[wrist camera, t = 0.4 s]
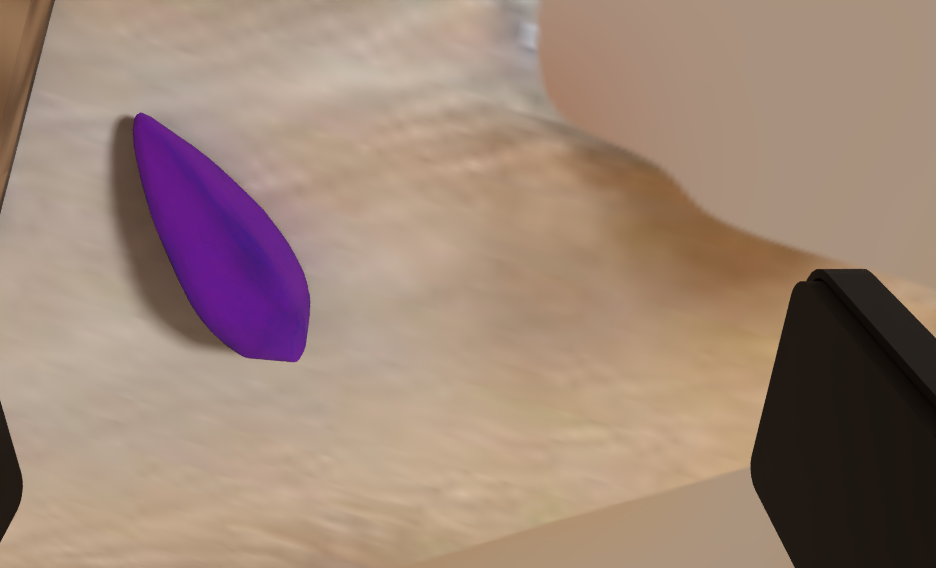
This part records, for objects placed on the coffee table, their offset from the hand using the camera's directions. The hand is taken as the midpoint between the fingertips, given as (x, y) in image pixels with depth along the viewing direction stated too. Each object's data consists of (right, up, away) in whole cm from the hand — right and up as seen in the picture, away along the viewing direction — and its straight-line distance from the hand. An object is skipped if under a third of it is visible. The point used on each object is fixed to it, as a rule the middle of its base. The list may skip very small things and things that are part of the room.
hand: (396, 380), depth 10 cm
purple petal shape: (-12, +4, +36) cm, 38 cm away
